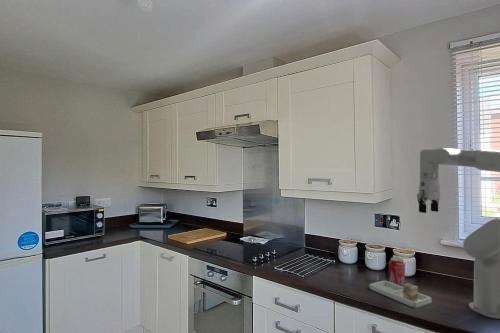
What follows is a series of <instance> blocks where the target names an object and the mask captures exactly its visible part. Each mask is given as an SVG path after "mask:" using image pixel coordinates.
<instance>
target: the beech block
mask: <svg viewBox="0 0 500 333" xmlns="http://www.w3.org/2000/svg"><path fill="white" fill-rule="evenodd" d="M402 287H403V298H406V299H408V300H410V301H413V302H415V301H418V293H419V287H418V285H415V284H412V283H404V284H403V285H402Z"/></svg>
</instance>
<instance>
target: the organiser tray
mask: <svg viewBox="0 0 500 333" xmlns="http://www.w3.org/2000/svg"><path fill="white" fill-rule="evenodd" d="M368 289H369V290H372V291H373V292H376V293H379V294H381V295H383V296H386V297H388V298H391V299H393V300H395V301H397V302H399V303H402V304H404V305H407V306H410V307H411V308H414V309H416V308H420V307H423V306H425V305H428V304H431V303H433V302H432V301H433V298H432V297H431V296H429V295H425V294H422V293H420V292H418V301H415V302H413V301H410V300H408V299H406V298H403V285H397V284H394V283H391V282H389V280H387V279H385V280H381V281H376V282H372V283H369V284H368Z"/></svg>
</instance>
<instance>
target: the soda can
mask: <svg viewBox="0 0 500 333" xmlns="http://www.w3.org/2000/svg"><path fill="white" fill-rule="evenodd" d="M405 273H406V265H405V262H404V259H402V258H399V257H391V258H390V260H389V262H388V281H389V282H391V283H394V284H397V285H399V286H403V285H404V284H405V281H406V280H405V278H406V277H405V276H406V274H405Z"/></svg>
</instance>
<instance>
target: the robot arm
mask: <svg viewBox="0 0 500 333" xmlns="http://www.w3.org/2000/svg"><path fill="white" fill-rule="evenodd" d="M439 165H440V166H442V165H444V166H460V167H468V168H469V167H470V168H475V169H477V170H480V171H487V172H497V173H500V149H497V150H496V149H485V148H484V149H462V148H461V149H459V148H452V147H450V148H449V147H440V148H432V149H431V148H430V149H429V148H427V149H422V150H421V151H420V154H419V186H418V193H417V194H416V199H417V201H418V202H417V203H418V212H419V213H421V214H426V213H427V204H426V203H427V201H430V211H431V212H436V213H437V212H439V203H440V199H441V190H440V189H441V188H440V186H441V185H440V180H439V168H440V167H439ZM462 246H463V249H464V251H465V253H466V254H467V255H468V257H469V256H470V257H471V258H473V259H474V261H473V262H474V263H473V301H472V302H469V303H468V306H469V308H470V309H471V310H472V311H473V312H476V313H477V314H478V315H481V316H484V317H486V318H492V319H500V217H496V218H493V219H490V220H489V221H487V222H486V223H484V224H483V225H482V226H480V227H479V228H477V229H476V230H474V231H473V232H472V233H470V234H468V235H467V236H466V237H465V238H464V240H463V245H462Z"/></svg>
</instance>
